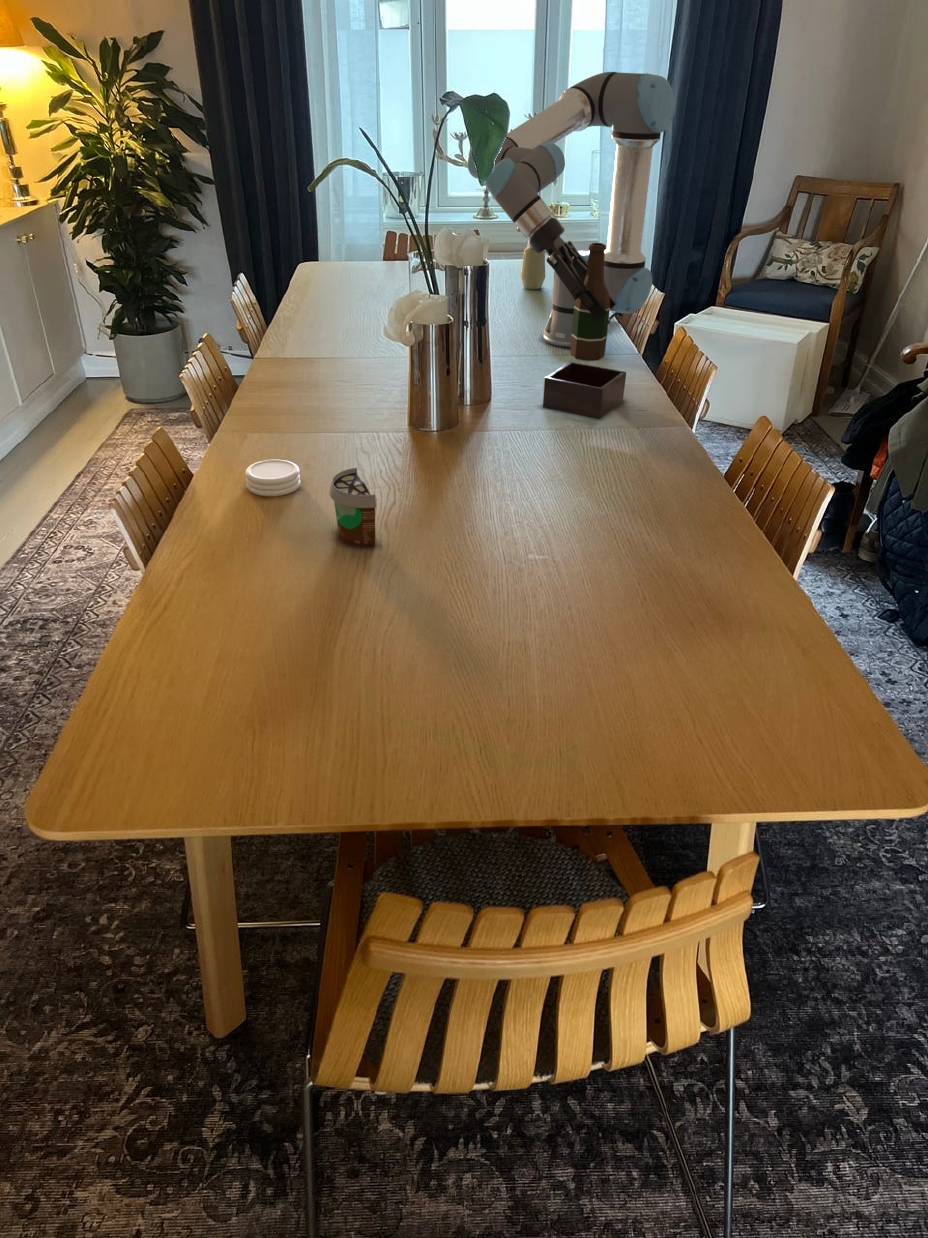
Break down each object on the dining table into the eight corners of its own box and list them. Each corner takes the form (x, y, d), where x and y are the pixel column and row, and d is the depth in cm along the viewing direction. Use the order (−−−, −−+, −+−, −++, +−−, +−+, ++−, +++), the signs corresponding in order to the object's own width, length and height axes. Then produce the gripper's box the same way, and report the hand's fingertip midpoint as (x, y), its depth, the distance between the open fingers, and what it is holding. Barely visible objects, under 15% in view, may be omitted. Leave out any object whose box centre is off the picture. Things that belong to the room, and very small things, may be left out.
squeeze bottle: (549, 286, 314) (553, 228, 304) (537, 291, 308) (541, 232, 298) (527, 283, 318) (530, 225, 308) (515, 288, 312) (518, 229, 302)
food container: (324, 523, 168) (320, 470, 162) (358, 518, 170) (355, 466, 164) (341, 555, 158) (338, 500, 153) (377, 550, 160) (376, 495, 155)
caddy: (568, 390, 229) (570, 361, 225) (623, 401, 224) (626, 371, 220) (542, 407, 219) (544, 377, 215) (599, 419, 213) (602, 389, 209)
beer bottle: (604, 351, 218) (615, 240, 205) (605, 362, 212) (617, 248, 199) (570, 350, 219) (579, 239, 206) (569, 360, 212) (579, 246, 199)
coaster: (309, 479, 183) (307, 462, 181) (287, 500, 175) (285, 483, 173) (261, 472, 185) (259, 455, 183) (237, 493, 177) (235, 476, 175)
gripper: (540, 231, 215) (604, 312, 219) (514, 248, 199) (583, 335, 203) (565, 207, 210) (629, 291, 215) (540, 223, 194) (610, 313, 199)
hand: (606, 312), depth 209 cm, fingers closed on beer bottle, 7 cm apart
